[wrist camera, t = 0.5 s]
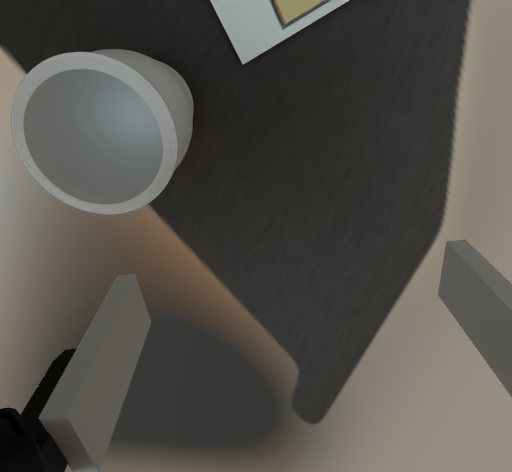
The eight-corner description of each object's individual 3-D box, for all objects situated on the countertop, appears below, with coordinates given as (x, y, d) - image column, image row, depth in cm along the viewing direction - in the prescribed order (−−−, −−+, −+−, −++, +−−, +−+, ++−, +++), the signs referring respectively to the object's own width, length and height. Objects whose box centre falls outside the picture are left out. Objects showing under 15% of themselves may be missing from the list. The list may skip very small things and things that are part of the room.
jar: (163, 23, 33) (104, 12, 20) (224, 124, 37) (208, 170, 24) (75, 85, 36) (-30, 112, 22) (142, 173, 40) (87, 240, 27)
